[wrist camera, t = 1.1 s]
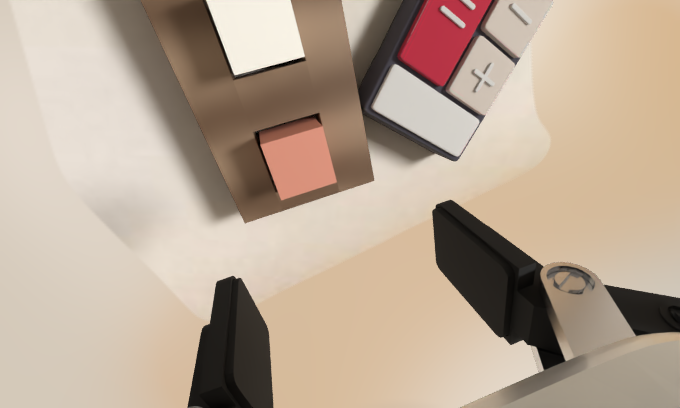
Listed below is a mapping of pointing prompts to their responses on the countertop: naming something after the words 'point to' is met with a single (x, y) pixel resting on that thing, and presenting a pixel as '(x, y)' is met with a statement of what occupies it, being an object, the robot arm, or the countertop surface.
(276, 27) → the white key
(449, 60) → the calculator
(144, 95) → the countertop surface
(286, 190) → the salmon pink key
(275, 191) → the key panel
